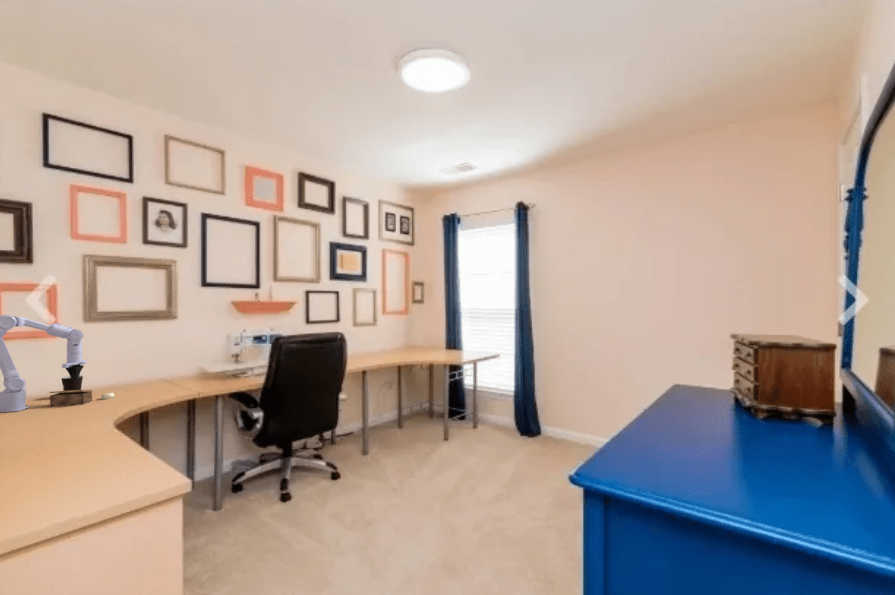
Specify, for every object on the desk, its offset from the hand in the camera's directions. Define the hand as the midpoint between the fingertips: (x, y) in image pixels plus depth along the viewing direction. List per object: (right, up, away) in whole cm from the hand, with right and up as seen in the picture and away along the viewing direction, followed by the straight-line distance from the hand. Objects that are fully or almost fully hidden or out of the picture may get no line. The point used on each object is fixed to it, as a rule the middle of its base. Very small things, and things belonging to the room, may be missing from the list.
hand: (74, 380), depth 212 cm
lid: (+3, -5, -5) cm, 8 cm away
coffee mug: (-12, -11, +12) cm, 20 cm away
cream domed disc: (+12, -10, +5) cm, 17 cm away
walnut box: (+3, -10, -5) cm, 12 cm away
